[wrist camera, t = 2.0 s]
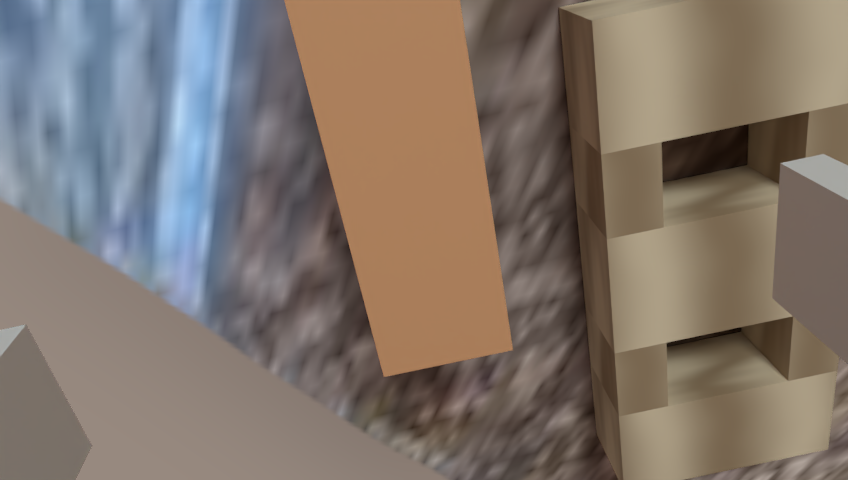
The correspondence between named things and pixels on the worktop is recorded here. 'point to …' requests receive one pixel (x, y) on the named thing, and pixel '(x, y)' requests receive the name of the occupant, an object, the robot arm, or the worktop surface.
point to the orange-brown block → (407, 173)
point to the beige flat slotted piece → (699, 225)
